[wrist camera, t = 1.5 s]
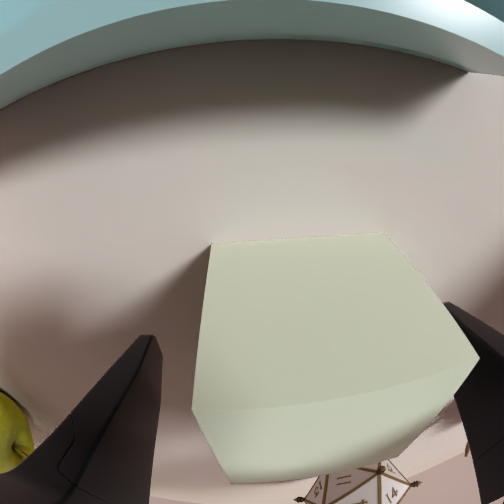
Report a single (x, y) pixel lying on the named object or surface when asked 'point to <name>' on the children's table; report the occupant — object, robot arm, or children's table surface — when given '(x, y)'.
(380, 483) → the game die
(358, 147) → the children's table surface
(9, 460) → the apple
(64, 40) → the tray
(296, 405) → the sage block
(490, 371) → the robot arm
